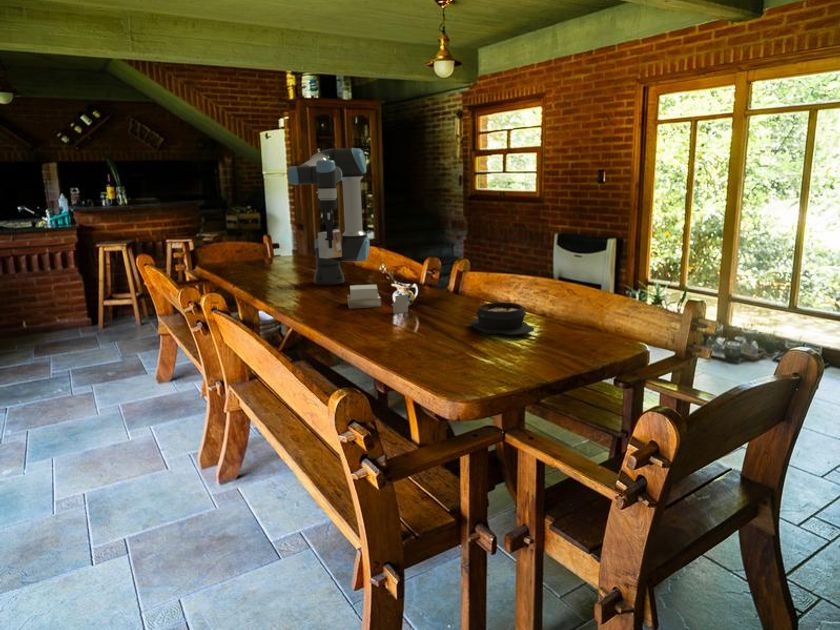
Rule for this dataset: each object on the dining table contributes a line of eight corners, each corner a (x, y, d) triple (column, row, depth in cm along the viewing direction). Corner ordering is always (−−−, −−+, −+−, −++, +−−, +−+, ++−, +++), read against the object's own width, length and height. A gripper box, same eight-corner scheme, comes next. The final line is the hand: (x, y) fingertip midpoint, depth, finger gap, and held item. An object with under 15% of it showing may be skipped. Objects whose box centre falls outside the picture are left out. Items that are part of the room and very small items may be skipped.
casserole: (456, 328, 210) (456, 304, 208) (496, 319, 220) (496, 297, 218) (505, 343, 190) (505, 318, 188) (546, 333, 200) (547, 309, 198)
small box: (328, 259, 243) (326, 232, 241) (318, 258, 247) (317, 232, 244) (342, 256, 249) (341, 231, 247) (333, 255, 253) (331, 230, 250)
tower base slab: (347, 304, 254) (347, 294, 253) (378, 302, 256) (377, 293, 255) (349, 309, 243) (348, 300, 242) (381, 307, 245) (380, 298, 245)
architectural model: (391, 313, 235) (390, 295, 233) (406, 310, 239) (405, 292, 237) (395, 315, 232) (395, 296, 231) (410, 312, 236) (410, 293, 234)
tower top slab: (350, 294, 252) (350, 285, 252) (376, 293, 254) (376, 284, 253) (350, 299, 244) (350, 289, 243) (377, 298, 245) (377, 288, 244)
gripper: (318, 198, 252) (321, 251, 258) (318, 200, 231) (321, 258, 237) (336, 198, 254) (339, 251, 259) (337, 200, 232) (340, 257, 238)
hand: (330, 254), depth 248 cm, fingers closed on small box, 9 cm apart
